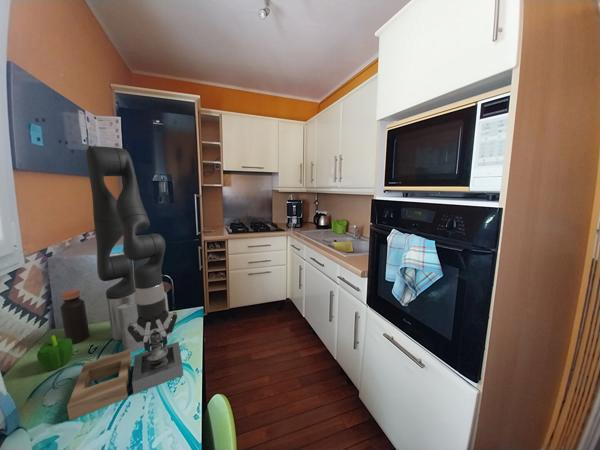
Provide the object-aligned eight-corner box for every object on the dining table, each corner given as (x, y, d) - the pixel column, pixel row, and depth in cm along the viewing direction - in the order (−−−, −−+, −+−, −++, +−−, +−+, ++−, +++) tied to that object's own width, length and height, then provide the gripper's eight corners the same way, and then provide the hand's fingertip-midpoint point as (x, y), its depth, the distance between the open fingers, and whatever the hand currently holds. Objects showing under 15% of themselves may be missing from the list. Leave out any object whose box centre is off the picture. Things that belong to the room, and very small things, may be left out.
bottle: (71, 336, 95) (63, 290, 92) (92, 332, 97) (85, 287, 95) (62, 346, 89) (53, 297, 86) (85, 341, 91) (77, 293, 88)
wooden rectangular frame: (86, 374, 75) (84, 363, 74) (131, 359, 81) (130, 349, 81) (69, 420, 60) (66, 406, 59) (127, 398, 66) (125, 385, 66)
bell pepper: (71, 367, 78) (66, 340, 77) (36, 378, 74) (30, 349, 72) (78, 352, 85) (74, 327, 84) (46, 361, 81) (41, 335, 79)
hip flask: (168, 330, 98) (164, 285, 95) (172, 334, 95) (168, 288, 92) (122, 350, 86) (115, 300, 83) (126, 355, 83) (118, 303, 80)
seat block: (136, 366, 78) (134, 355, 78) (179, 351, 85) (178, 341, 85) (133, 394, 67) (132, 382, 67) (183, 375, 74) (182, 363, 74)
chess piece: (144, 372, 72) (140, 337, 71) (151, 359, 78) (147, 326, 76) (166, 368, 74) (162, 333, 72) (170, 355, 80) (167, 323, 78)
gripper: (175, 288, 79) (179, 334, 82) (123, 299, 72) (130, 349, 75) (177, 296, 73) (182, 346, 76) (121, 309, 66) (128, 364, 68)
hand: (156, 347), depth 75 cm, fingers closed on chess piece, 3 cm apart
